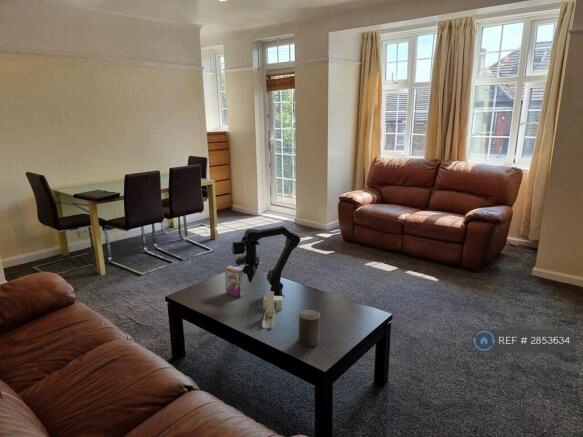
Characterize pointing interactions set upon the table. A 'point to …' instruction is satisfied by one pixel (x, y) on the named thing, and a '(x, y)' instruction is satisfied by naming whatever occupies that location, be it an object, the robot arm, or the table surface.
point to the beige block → (270, 303)
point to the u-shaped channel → (268, 321)
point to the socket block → (277, 300)
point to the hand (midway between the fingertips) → (251, 278)
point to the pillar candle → (309, 328)
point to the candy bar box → (235, 281)
